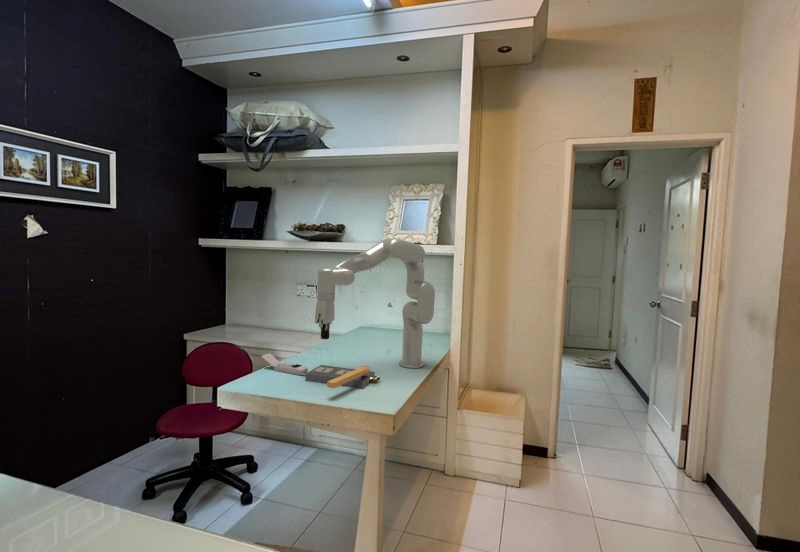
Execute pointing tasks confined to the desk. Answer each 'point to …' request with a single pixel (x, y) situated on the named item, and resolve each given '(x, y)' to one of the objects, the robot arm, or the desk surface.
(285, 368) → the pale grey angled bar
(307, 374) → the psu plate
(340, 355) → the desk surface
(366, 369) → the orange wooden bar
